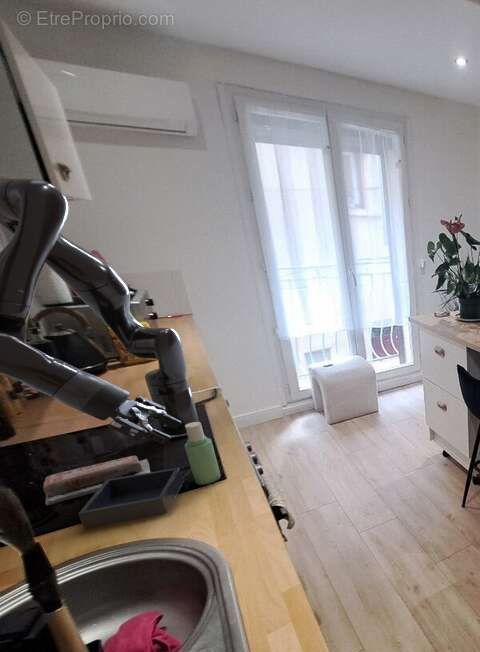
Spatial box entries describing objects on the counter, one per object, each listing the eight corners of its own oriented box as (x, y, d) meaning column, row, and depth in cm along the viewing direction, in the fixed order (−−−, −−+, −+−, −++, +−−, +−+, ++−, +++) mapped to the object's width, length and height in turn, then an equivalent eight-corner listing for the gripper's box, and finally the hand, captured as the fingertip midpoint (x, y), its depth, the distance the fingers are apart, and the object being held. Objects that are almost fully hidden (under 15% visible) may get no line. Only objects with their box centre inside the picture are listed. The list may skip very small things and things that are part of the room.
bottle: (198, 477, 106) (182, 421, 100) (223, 473, 108) (208, 418, 102) (193, 488, 101) (176, 430, 96) (218, 483, 103) (203, 427, 98)
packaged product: (38, 490, 91) (41, 472, 97) (46, 508, 92) (49, 489, 99) (147, 461, 103) (143, 447, 109) (152, 478, 104) (148, 462, 111)
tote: (112, 495, 97) (106, 479, 96) (184, 483, 103) (179, 467, 101) (85, 531, 86) (77, 513, 84) (167, 515, 92) (161, 498, 90)
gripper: (90, 394, 83) (176, 434, 92) (118, 372, 95) (192, 410, 104) (63, 421, 83) (152, 459, 92) (95, 396, 95) (171, 432, 104)
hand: (173, 433), depth 98 cm, fingers open, 8 cm apart
